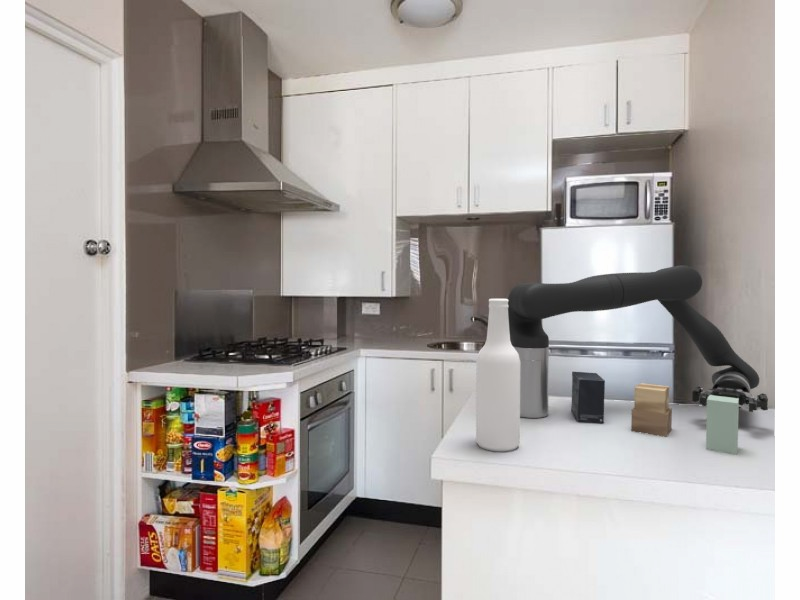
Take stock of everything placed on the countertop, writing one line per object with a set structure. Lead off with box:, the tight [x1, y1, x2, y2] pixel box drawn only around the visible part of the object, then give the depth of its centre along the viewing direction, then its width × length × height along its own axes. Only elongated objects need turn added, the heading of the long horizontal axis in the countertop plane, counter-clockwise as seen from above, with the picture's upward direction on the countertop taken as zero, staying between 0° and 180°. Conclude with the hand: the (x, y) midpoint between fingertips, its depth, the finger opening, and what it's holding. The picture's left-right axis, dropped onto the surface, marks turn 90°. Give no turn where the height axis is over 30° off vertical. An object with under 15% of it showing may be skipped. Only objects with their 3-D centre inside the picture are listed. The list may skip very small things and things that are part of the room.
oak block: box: [633, 382, 670, 414], centre depth 109 cm, size 6×6×5 cm
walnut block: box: [630, 407, 673, 438], centre depth 109 cm, size 7×7×5 cm
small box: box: [570, 371, 606, 424], centre depth 120 cm, size 11×6×10 cm, turn 168°
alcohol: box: [475, 298, 521, 453], centre depth 99 cm, size 9×9×30 cm
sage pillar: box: [705, 395, 740, 455], centre depth 97 cm, size 5×5×10 cm
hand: (726, 404), depth 106 cm, fingers open, 8 cm apart
